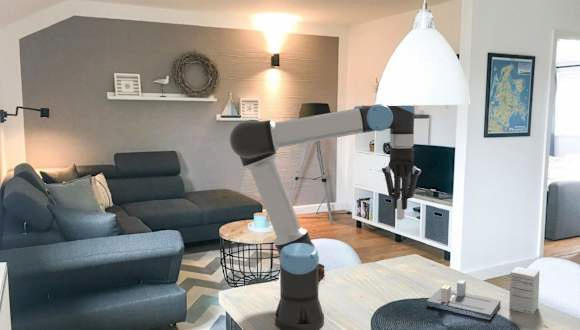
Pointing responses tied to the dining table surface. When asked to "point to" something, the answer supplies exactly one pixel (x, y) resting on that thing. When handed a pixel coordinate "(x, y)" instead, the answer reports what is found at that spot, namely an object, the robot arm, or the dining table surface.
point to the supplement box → (524, 290)
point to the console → (469, 303)
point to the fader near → (445, 293)
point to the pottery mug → (320, 272)
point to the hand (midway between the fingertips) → (400, 218)
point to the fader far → (461, 288)
